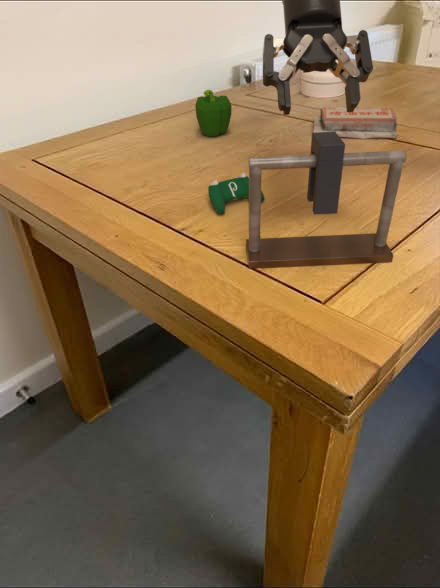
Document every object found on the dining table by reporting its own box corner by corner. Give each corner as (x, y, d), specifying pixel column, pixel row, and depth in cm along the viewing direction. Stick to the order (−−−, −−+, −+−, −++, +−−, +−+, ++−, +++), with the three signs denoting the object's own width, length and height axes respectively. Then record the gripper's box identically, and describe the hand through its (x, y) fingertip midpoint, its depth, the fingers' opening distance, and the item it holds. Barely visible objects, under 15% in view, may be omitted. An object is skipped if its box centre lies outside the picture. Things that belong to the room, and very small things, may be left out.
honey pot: (308, 84, 141) (313, 15, 129) (350, 87, 136) (359, 16, 125) (294, 95, 132) (298, 22, 120) (339, 99, 127) (348, 23, 116)
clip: (306, 198, 64) (311, 132, 59) (328, 197, 64) (335, 131, 59) (314, 214, 60) (320, 145, 55) (337, 213, 60) (345, 144, 55)
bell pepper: (217, 124, 114) (215, 81, 108) (238, 133, 108) (237, 88, 102) (188, 132, 110) (185, 87, 104) (209, 142, 105) (206, 95, 98)
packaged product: (395, 103, 106) (401, 117, 99) (391, 125, 109) (396, 140, 102) (315, 102, 109) (314, 115, 101) (313, 123, 112) (312, 138, 104)
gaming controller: (258, 207, 83) (246, 176, 83) (267, 199, 79) (254, 167, 80) (213, 220, 80) (200, 188, 80) (219, 212, 76) (206, 179, 77)
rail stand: (379, 239, 70) (399, 142, 61) (392, 262, 65) (415, 159, 56) (245, 245, 70) (245, 149, 61) (248, 268, 65) (249, 167, 56)
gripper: (261, -21, 60) (268, 98, 58) (371, -26, 60) (383, 92, 58) (256, 20, 67) (263, 127, 65) (355, 16, 67) (364, 122, 65)
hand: (319, 110), depth 61 cm, fingers open, 8 cm apart
